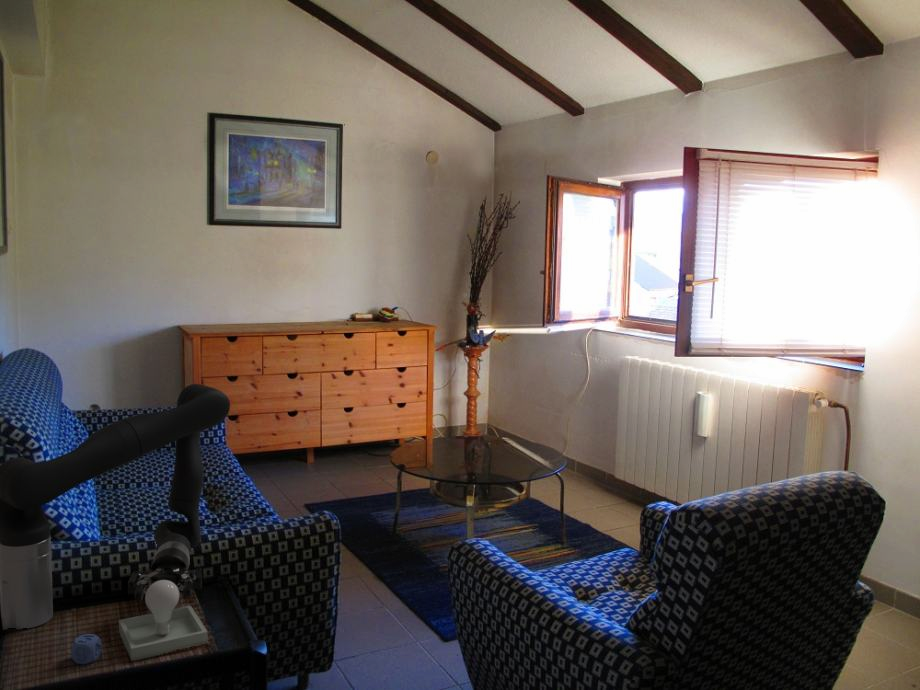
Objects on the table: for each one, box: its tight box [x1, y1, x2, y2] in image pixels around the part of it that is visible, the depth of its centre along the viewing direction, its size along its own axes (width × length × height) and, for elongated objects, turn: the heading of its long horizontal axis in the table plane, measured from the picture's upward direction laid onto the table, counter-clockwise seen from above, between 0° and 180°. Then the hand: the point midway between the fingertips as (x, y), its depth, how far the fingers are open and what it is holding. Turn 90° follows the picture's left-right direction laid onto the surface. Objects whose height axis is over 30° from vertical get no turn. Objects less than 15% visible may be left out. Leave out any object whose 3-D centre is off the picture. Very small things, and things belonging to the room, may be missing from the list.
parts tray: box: [118, 605, 209, 662], centre depth 162 cm, size 14×13×2 cm
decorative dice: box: [70, 633, 102, 665], centre depth 154 cm, size 4×4×4 cm
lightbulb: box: [144, 580, 180, 635], centre depth 162 cm, size 6×6×11 cm
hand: (162, 596), depth 163 cm, fingers open, 8 cm apart
